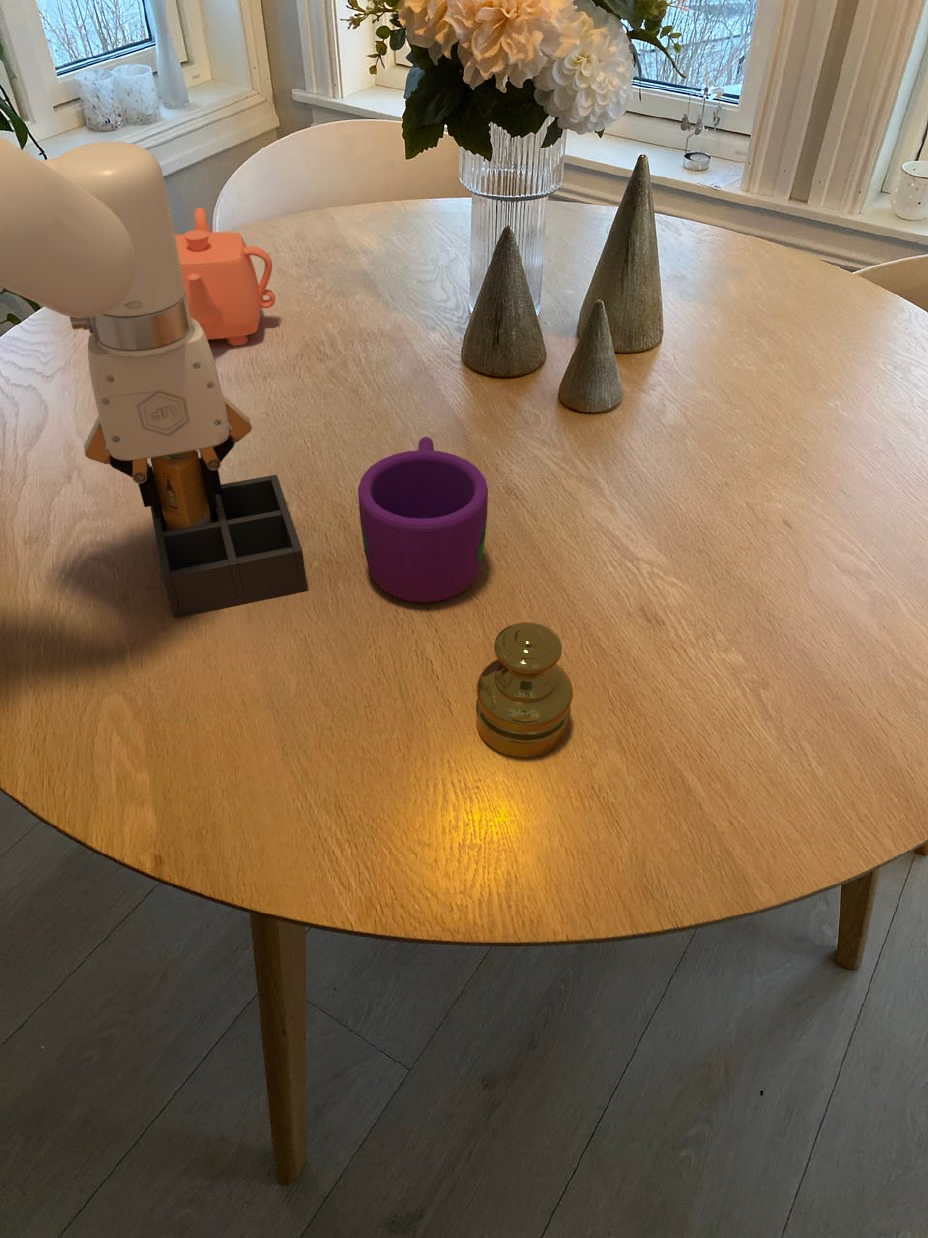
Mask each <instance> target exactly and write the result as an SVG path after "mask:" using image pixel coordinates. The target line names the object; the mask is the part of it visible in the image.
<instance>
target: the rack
mask: <svg viewBox="0 0 928 1238" xmlns="http://www.w3.org/2000/svg"><path fill="white" fill-rule="evenodd" d="M221 487H222V492H223V493H221V494H216V495H215V496H216V501H217V506H218V508H213V509H212V507H210V506H209V509H210V514H211V519H212V523H209V524H203V525H198V526H193V527H187V528H182V529H177V530H171V531H167V530H166V525H165V521H164V516H161V518H158V519H155V515H154V511H153V507H152V506H149V507H150V512H151V519H152V525H153V530H154V535H155V536H154V537H155V543H156V548H157V553H158V560H159V566H160V571H161V572H160V573H161V577H162V578H161V579H162V581H163V586H164V588H165V592H166V596H167V600H168V603H169V607H170V611H171V614H172V618H173V619H177V618H182V617H187V616H190V615H195V614H200V613H206V612H209V611H210V612H211V611H215V610H220V609H225V608H229V607H233V606H238V605H243V604H247V603H248V604H249V603H254V602H259V601H263V600H268V599H272V598H277V597H282V596H286V595H291V594H296V593H301V592H305V591H308V582H307V575H306V567H305V561H304V554H303V547H302V545H301V542H300V539H299V537H298V533H297V530H296V527H295V525H294V522H293V519H292V516H291V513H290V510H289V507H288V504H287V501H286V498H285V495H284V492H283V489H282V485H281V483H280V479H279V478H278V475H277V474H271V475H267V476H261V477H256V478H255V477H254V478H249V479H244V480H239V481H238V480H237V481H232V482H226V483H221ZM206 495H207V494H206ZM207 499H208V498H207ZM208 504H209V502H208Z"/></svg>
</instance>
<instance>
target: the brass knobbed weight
mask: <svg viewBox="0 0 928 1238" xmlns="http://www.w3.org/2000/svg"><path fill="white" fill-rule="evenodd" d="M493 648H494V654H495V656H496V658H497V659H495V660H493V661H491V662H490V663H488V665H487V666H485V668H484V669H483V670H482V672H481V673H480V675H479V676H478V679H477V682H476V701H475V711H476V720H475V721H476V727H477V730H478V733H479V736H481V739H482V740H483V741H484V742H485V743H486V744H487V745H488V746H490V747H491V748H492V749H494V750H495V751H497V752H499V753H501V754H504V755H507V756H511V757H516V758H532V757H537V756H541V755H544V754H547V753H549V752H550V751H553V750H554V749H555V748H556V747H558V746H559V745H560V744H561V742H562V741H563V740H564V738H565V736H566V734H567V731H568V726H569V720H570V718H571V710H572V709H571V705H572V702H573V696H574V690H573V689H574V688H573V684H572V681H571V679H570V676H569V675H568V674H567V672H566V671H565V670H564V669H563V668H562V667H561V666H560V665H559V664H557V663H558V662H559V661H560V659H561V657H562V652H563V645H562V641H561V639H560V637H559V636H558V634H557V633H556V632H555V631H554V630H552V629H551V628H549V627H547V626H545V625H543V624H540V623H537V622H530V621H529V622H527V621H526V622H523V621H522V622H517V623H513V624H510V625H507V626H506V627H505V628H503V629H502V630H501V631H500V632H499V633H498V635H497V636H496V638H495V640H494V647H493Z"/></svg>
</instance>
